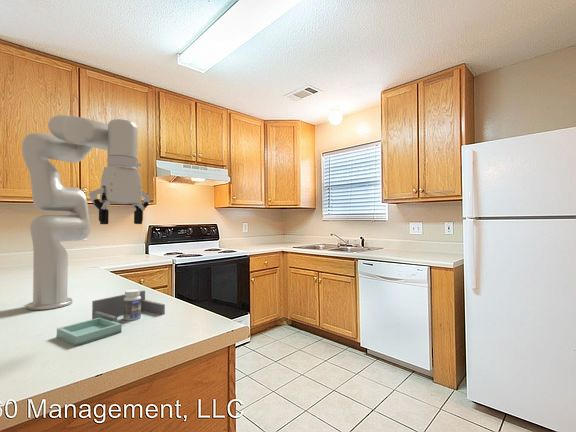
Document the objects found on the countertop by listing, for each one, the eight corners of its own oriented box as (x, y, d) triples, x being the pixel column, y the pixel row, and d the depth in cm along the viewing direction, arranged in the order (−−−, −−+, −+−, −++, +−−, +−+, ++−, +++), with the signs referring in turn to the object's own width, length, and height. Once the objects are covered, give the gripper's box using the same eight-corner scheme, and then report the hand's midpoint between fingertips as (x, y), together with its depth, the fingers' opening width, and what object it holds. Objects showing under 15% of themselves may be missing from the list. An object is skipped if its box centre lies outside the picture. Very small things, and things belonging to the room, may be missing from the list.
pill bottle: (133, 321, 89) (133, 292, 90) (119, 320, 90) (119, 291, 91) (144, 316, 94) (144, 289, 94) (130, 315, 95) (131, 288, 95)
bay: (92, 321, 89) (92, 301, 89) (143, 308, 103) (143, 290, 103) (113, 329, 83) (113, 306, 83) (164, 313, 97) (164, 294, 97)
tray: (56, 337, 77) (56, 328, 77) (100, 325, 86) (100, 317, 86) (76, 346, 72) (76, 336, 72) (121, 332, 81) (121, 323, 81)
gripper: (143, 169, 97) (142, 223, 96) (83, 160, 82) (82, 224, 82) (157, 167, 93) (157, 224, 92) (96, 157, 78) (95, 224, 78)
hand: (121, 224), depth 87 cm, fingers open, 9 cm apart
